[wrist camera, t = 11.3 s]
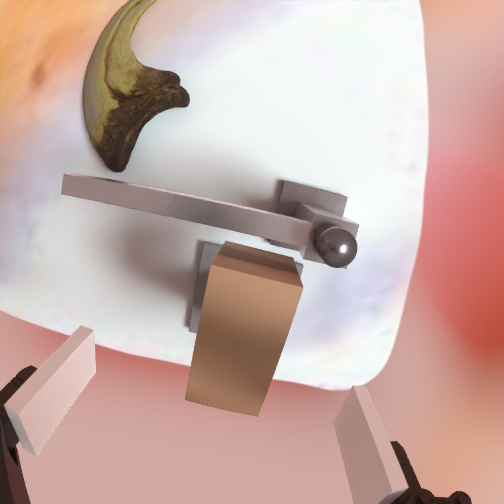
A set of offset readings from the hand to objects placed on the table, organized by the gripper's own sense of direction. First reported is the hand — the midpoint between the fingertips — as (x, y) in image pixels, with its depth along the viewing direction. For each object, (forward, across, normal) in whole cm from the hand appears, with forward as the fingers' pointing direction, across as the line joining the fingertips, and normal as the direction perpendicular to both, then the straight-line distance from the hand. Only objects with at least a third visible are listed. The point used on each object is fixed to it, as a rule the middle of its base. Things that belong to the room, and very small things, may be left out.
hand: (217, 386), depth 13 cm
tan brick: (+11, +1, +2) cm, 12 cm away
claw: (+13, -12, +18) cm, 26 cm away
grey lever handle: (+12, -3, +7) cm, 15 cm away
